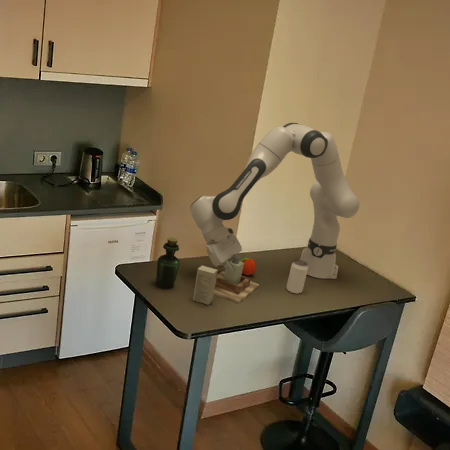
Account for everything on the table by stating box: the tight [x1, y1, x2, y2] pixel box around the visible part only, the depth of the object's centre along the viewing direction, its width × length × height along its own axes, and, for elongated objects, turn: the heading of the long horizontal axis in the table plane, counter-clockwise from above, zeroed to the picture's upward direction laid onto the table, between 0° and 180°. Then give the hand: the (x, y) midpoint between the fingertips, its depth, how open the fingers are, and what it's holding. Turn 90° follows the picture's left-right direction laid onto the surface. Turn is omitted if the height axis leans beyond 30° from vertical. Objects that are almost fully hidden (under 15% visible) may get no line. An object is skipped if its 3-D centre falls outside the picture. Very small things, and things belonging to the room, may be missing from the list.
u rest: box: [213, 271, 260, 304], centre depth 230 cm, size 20×16×4 cm
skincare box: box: [192, 265, 218, 306], centre depth 214 cm, size 6×4×12 cm
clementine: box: [239, 257, 257, 276], centre depth 245 cm, size 8×7×7 cm
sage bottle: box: [223, 253, 244, 284], centre depth 228 cm, size 5×5×11 cm
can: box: [285, 259, 308, 295], centre depth 238 cm, size 6×6×12 cm
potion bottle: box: [155, 236, 181, 290], centre depth 220 cm, size 8×8×18 cm
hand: (235, 269), depth 228 cm, fingers closed on sage bottle, 5 cm apart
